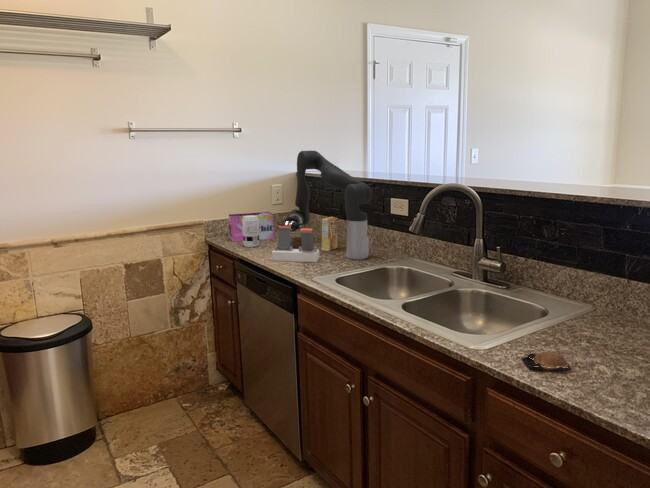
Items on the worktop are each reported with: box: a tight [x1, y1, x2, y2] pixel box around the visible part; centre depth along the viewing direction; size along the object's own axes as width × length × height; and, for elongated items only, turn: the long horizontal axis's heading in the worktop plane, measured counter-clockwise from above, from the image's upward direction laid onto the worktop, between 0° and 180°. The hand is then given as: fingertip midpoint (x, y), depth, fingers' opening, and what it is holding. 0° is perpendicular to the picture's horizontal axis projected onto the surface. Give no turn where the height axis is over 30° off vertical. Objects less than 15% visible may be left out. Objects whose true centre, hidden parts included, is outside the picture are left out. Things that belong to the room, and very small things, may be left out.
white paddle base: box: [271, 245, 320, 263], centre depth 221 cm, size 20×7×6 cm, turn 82°
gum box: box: [227, 211, 275, 243], centre depth 266 cm, size 24×8×14 cm, turn 114°
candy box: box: [321, 216, 339, 252], centre depth 240 cm, size 9×4×15 cm, turn 150°
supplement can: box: [242, 215, 260, 248], centre depth 248 cm, size 8×8×15 cm
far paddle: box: [277, 225, 291, 250], centre depth 222 cm, size 5×2×11 cm, turn 82°
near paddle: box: [299, 227, 315, 251], centre depth 217 cm, size 5×2×11 cm, turn 82°
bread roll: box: [521, 351, 576, 374], centre depth 118 cm, size 11×8×4 cm
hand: (285, 229), depth 230 cm, fingers closed
